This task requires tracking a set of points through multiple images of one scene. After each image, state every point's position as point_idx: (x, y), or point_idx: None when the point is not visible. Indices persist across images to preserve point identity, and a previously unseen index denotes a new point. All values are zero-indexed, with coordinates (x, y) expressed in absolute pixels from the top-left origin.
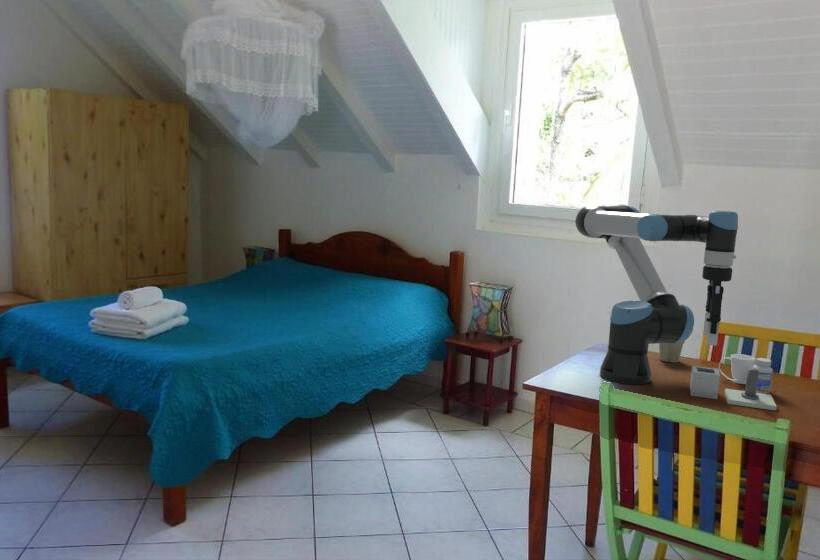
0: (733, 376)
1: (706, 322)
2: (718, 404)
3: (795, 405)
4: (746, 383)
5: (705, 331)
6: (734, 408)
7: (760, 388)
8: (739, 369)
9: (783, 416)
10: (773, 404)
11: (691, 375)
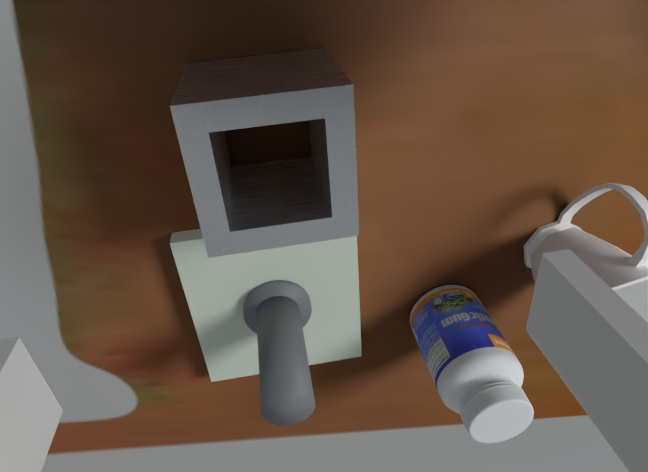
0: (558, 235)
1: (635, 376)
2: (128, 199)
3: (321, 401)
4: (273, 334)
5: (557, 290)
6: (121, 259)
7: (414, 329)
8: None
9: (157, 388)
10: (230, 372)
11: (315, 70)
